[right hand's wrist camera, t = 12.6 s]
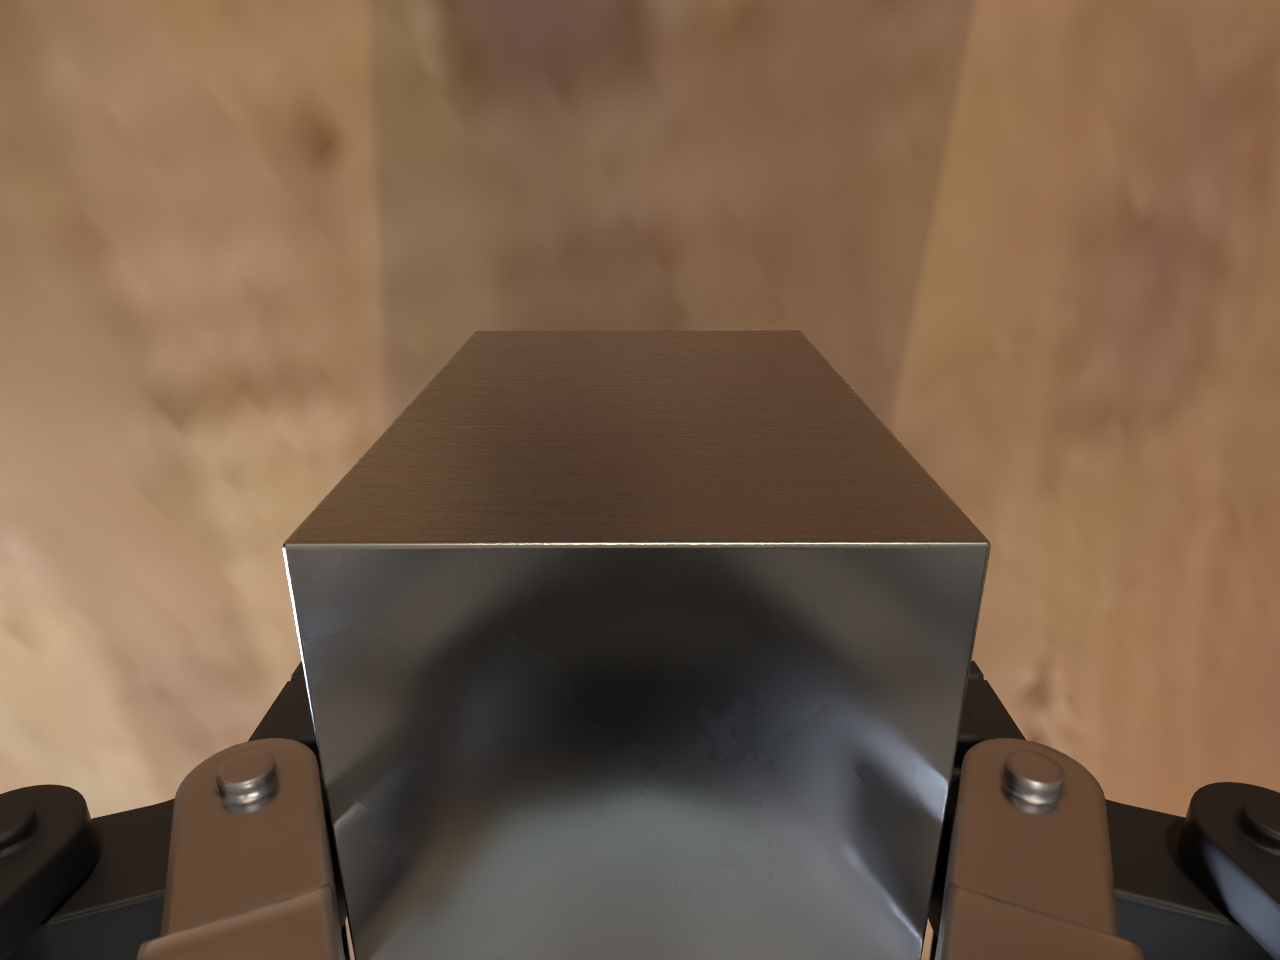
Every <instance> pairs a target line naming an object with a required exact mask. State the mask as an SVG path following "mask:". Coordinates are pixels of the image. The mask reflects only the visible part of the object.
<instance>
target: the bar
mask: <svg viewBox="0 0 1280 960" xmlns="http://www.w3.org/2000/svg"><path fill="white" fill-rule="evenodd" d="M989 553H990V542H989V541H988V540H987V538H986V537H985V536H984V535H983V534H982V533H981V532H980V531H979V530H978V528H977V527H976V526H975V525H974V524H973V523H972V522H971V521H970V520H969V518H968V517H967V516H966V515H965V514H964V513H963V512H962V511H961V510H960V508H959V507H958V506H957V505H956V504H955V503H954V502H953V501H952V500H951V498H950V497H949V496H948V495H947V494H946V493H945V492H944V491H943V490H942V488H941V487H940V486H939V485H938V484H937V483H936V482H935V481H934V480H933V478H932V477H931V476H930V475H929V474H928V473H927V472H926V471H925V469H924V468H923V467H922V466H921V465H920V464H919V463H918V462H917V461H916V459H915V458H914V457H913V456H912V455H911V454H910V453H909V452H908V451H907V449H906V448H905V447H904V446H903V445H902V444H901V443H900V442H899V441H898V439H897V438H896V437H895V436H894V435H893V434H892V433H891V432H890V431H889V429H888V428H887V427H886V426H885V425H884V424H883V423H882V422H881V421H880V419H879V418H878V417H877V416H876V415H875V414H874V413H873V412H872V411H871V409H870V408H869V407H868V406H867V405H866V404H865V403H864V402H863V401H862V399H861V398H860V397H859V396H858V395H857V394H856V393H855V392H854V391H853V389H852V388H851V387H850V386H849V385H848V384H847V383H846V382H845V381H844V379H843V378H842V377H841V376H840V375H839V374H838V373H837V372H836V370H835V369H834V368H833V367H832V366H831V365H830V364H829V363H828V362H827V360H826V359H825V358H824V357H823V356H822V355H821V354H820V353H819V352H818V350H817V349H816V348H815V347H814V346H813V345H812V344H811V343H810V342H809V340H808V339H807V338H806V337H805V336H804V335H803V334H802V333H801V332H800V331H477V332H475V333H474V334H473V335H472V336H471V338H470V339H469V340H468V341H467V342H466V343H465V344H464V345H463V346H462V347H461V349H460V350H459V351H458V352H457V353H456V354H455V355H454V356H453V357H452V358H451V360H450V361H449V362H448V363H447V364H446V365H445V366H444V367H443V368H442V369H441V371H440V372H439V373H438V374H437V375H436V376H435V377H434V378H433V379H432V380H431V382H430V383H429V384H428V385H427V386H426V387H425V388H424V389H423V390H422V391H421V393H420V394H419V395H418V396H417V397H416V398H415V399H414V400H413V401H412V402H411V404H410V405H409V406H408V407H407V408H406V409H405V410H404V411H403V412H402V413H401V415H400V416H399V417H398V418H397V419H396V420H395V421H394V422H393V423H392V424H391V426H390V427H389V428H388V429H387V430H386V431H385V432H384V433H383V434H382V435H381V437H380V438H379V439H378V440H377V441H376V442H375V443H374V444H373V445H372V446H371V448H370V449H369V450H368V451H367V452H366V453H365V454H364V455H363V456H362V457H361V459H360V460H359V461H358V462H357V463H356V464H355V465H354V466H353V467H352V468H351V470H350V471H349V472H348V473H347V474H346V475H345V476H344V477H343V478H342V479H341V481H340V482H339V483H338V484H337V485H336V486H335V487H334V488H333V489H332V490H331V492H330V493H329V494H328V495H327V496H326V497H325V498H324V499H323V500H322V501H321V503H320V504H319V505H318V506H317V507H316V508H315V509H314V510H313V511H312V512H311V514H310V515H309V516H308V517H307V518H306V519H305V520H304V521H303V522H302V523H301V525H300V526H299V527H298V528H297V529H296V530H295V531H294V532H293V533H292V534H291V536H290V537H289V538H288V539H287V540H286V541H285V542H284V544H283V554H284V559H285V565H286V571H287V576H288V582H289V588H290V593H291V599H292V605H293V610H294V616H295V622H296V627H297V633H298V639H299V644H300V650H301V656H302V662H303V667H304V673H305V679H306V684H307V690H308V696H309V701H310V707H311V713H312V718H313V724H314V730H315V735H316V741H317V747H318V752H319V758H320V764H321V769H322V775H323V781H324V786H325V792H326V798H327V804H328V809H329V815H330V821H331V826H332V832H333V838H334V843H335V849H336V855H337V860H338V866H339V872H340V877H341V883H342V889H343V894H344V900H345V906H346V911H347V917H348V923H349V928H350V934H351V940H352V946H353V951H354V957H355V960H921V955H922V949H923V943H924V938H925V932H926V926H927V920H928V914H929V908H930V902H931V896H932V890H933V884H934V878H935V872H936V867H937V861H938V855H939V849H940V843H941V837H942V831H943V825H944V819H945V813H946V807H947V801H948V796H949V790H950V784H951V778H952V772H953V766H954V760H955V754H956V748H957V742H958V736H959V730H960V725H961V719H962V713H963V707H964V701H965V695H966V689H967V683H968V677H969V671H970V665H971V660H972V654H973V648H974V642H975V636H976V630H977V624H978V618H979V612H980V606H981V600H982V594H983V589H984V583H985V577H986V571H987V565H988V559H989Z"/></svg>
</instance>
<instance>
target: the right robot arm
mask: <svg viewBox="0 0 1280 960" xmlns="http://www.w3.org/2000/svg"><path fill="white" fill-rule="evenodd" d="M346 917H347V911H346V906H345V900H344V894H343V889H342V883H341V877H340V872H339V866H338V860H337V855H336V849H335V843H334V838H333V832H332V826H331V821H330V815H329V809H328V804H327V798H326V792H325V786H324V781H323V775H322V769H321V764H320V758H319V752H318V747H317V741H316V735H315V730H314V724H313V718H312V713H311V707H310V701H309V696H308V690H307V684H306V679H305V673H304V667H303V662H300V664H299V665H298V667H297V668H296V670H295V671H294V673H293V674H292V676H291V681H288V682H287V683H286V685H285V686H284V688H283V689H282V691H281V692H280V694H279V695H278V697H277V698H276V700H275V701H274V703H273V704H272V706H271V707H270V709H269V710H268V712H267V713H266V715H265V716H264V718H263V719H262V721H261V722H260V724H259V725H258V727H257V728H256V730H255V731H254V733H253V734H252V736H251V737H250V739H249V740H248V742H244V743H241V744H238V745H235V746H232V747H230V748H227V749H224V750H222V751H220V752H218V753H216V754H214V755H213V756H211V757H209V758H208V759H206V760H205V761H203V762H202V763H201V764H199V765H198V766H197V767H195V768H194V769H193V770H192V771H191V772H190V773H189V774H188V775H187V776H186V777H185V779H184V780H183V781H182V783H181V784H180V786H179V788H178V790H177V792H176V796H175V799H172V800H169V801H166V802H163V803H159V804H155V805H151V806H147V807H142V808H138V809H133V810H129V811H124V812H120V813H115V814H111V815H106V816H102V817H97V818H93V819H91V817H90V814H89V811H88V808H87V804H86V801H85V799H84V797H83V796H82V795H81V794H80V793H79V792H78V791H76V790H74V789H72V788H70V787H66V786H61V785H37V786H30V787H24V788H20V789H16V790H12V791H9V792H6V793H3V794H0V960H351V952H350V946H349V940H348V934H347V928H346V923H345V920H346ZM928 919H929V921H930V924H931V927H932V929H933V934H932V940H931V945H930V952H929V960H1280V793H1279V792H1276V791H1273V790H1270V789H1267V788H1263V787H1259V786H1255V785H1250V784H1244V783H1234V782H1221V783H1213V784H1209V785H1206V786H1204V787H1202V788H1200V789H1199V790H1197V791H1196V792H1195V793H1194V795H1193V797H1192V799H1191V802H1190V805H1189V808H1188V812H1187V815H1186V818H1184V817H1179V816H1175V815H1170V814H1166V813H1161V812H1157V811H1152V810H1148V809H1143V808H1139V807H1134V806H1130V805H1125V804H1121V803H1117V802H1114V801H1110V800H1107V799H1105V796H1104V792H1103V790H1102V788H1101V786H1100V784H1099V783H1098V781H1097V780H1096V779H1095V777H1094V776H1093V775H1092V774H1091V773H1090V772H1089V771H1088V770H1087V769H1086V768H1085V767H1083V766H1082V765H1081V764H1079V763H1078V762H1077V761H1075V760H1074V759H1072V758H1071V757H1069V756H1067V755H1066V754H1064V753H1062V752H1060V751H1058V750H1056V749H1053V748H1050V747H1048V746H1045V745H1042V744H1039V743H1036V742H1032V741H1027V740H1026V739H1025V738H1024V736H1023V735H1022V733H1021V732H1020V730H1019V729H1018V727H1017V726H1016V724H1015V722H1014V721H1013V719H1012V718H1011V716H1010V715H1009V713H1008V712H1007V710H1006V709H1005V707H1004V706H1003V704H1002V703H1001V701H1000V700H999V698H998V697H997V695H996V694H995V692H994V690H993V689H992V687H991V686H990V684H989V683H988V681H987V680H984V678H983V674H982V672H981V671H980V669H979V668H978V666H977V665H976V663H975V662H974V661H971V665H970V671H969V677H968V683H967V689H966V695H965V701H964V707H963V713H962V719H961V725H960V730H959V736H958V742H957V748H956V754H955V760H954V766H953V772H952V778H951V784H950V790H949V796H948V801H947V807H946V813H945V819H944V825H943V831H942V837H941V843H940V849H939V855H938V861H937V867H936V872H935V878H934V884H933V890H932V896H931V902H930V908H929V914H928Z"/></svg>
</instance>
